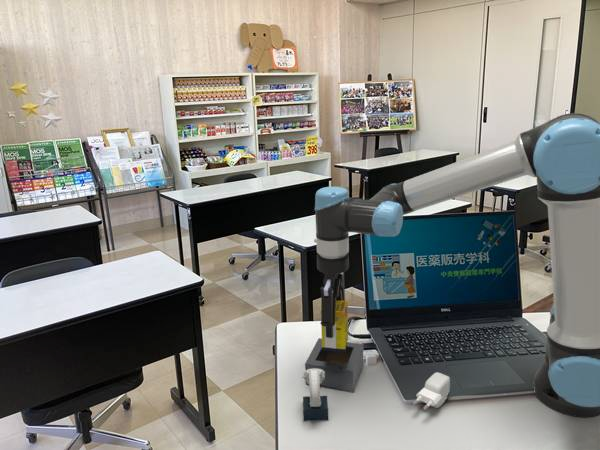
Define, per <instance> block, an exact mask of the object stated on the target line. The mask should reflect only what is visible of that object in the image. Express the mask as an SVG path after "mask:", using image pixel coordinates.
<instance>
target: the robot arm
mask: <svg viewBox="0 0 600 450" xmlns="http://www.w3.org/2000/svg"><path fill="white" fill-rule="evenodd" d="M525 176H530V177H532V178H536V187H537V199H538V200H540V201H541V202H542V203H544V204H545V205H546V206H547V216H548V231H549V232H548V234H549V245H550V248H549V249H550V261H551V278H552V294H553V304H552V305H551V309H550V311H549V315H550V316H549V317H550V318H549V324H548V326H547V328H546V334H547V335H546V336H547V338H546V339H547V340H546V347H545V355H544V359H543V361H542V362H541V364H540V365H539V367H538V369H537V370H536V371H535V373H534V377H533V381H532V385H533V384H534V387H535V393H534V395H535V396H536V398H537V399H538V400H539V401H540V402H542V404H544V405H546V406H547V407H549V408H550V409H553V410H554V411H557V412H558V413H562V414H565V415H569V416H573V417H579V418H592V417H597V416H600V122H598V121H597V120H596V119H595V118H593V117H592V116H590V115H587V114H585V113H577V112H571V113H566V114H561V115H558V116H556V117H554V118H552V119H549V120H548V121H546V122H544V123H543V124H541V125H538V126H535V127H534V128H533V127H532V128H531V129H529V130H526V131H523V132H520V133H518V135H517V137H516V138H515V140H513V141H510V142H508V143H505V144H502V145H500V146H497V147H494V148H491V149H488V150H486V151H483V152H480V153H478V154H475V155H472V156H470V157H467V158H465V159H461V160H458V161H456V162H453V163H451V164H448V165H445V166H443V167H440V168H436V169H434V170H431V171H427V172H425V173H423V174H420V175H418V176H414V177H412V178H409V179H407V180H405V181H401V182H399V183H390V184H388V185H386V186H384V187H382V188H381V190H379V191H378V192H377V193H375V194H374V195H373V197H371V198H370V199H358V198H351V197H350V196H349V195H350V194H349V191H348V189H347V188H345V187H341V186H326V187H322V188H320V189H318V190H317V191H316V193H315V194H314V195H315V197H314V198H315V199H314V200H315V201H314V202H315V203H314V211H315V213H314V214H315V237H316V238H314V240H313V242H314V243H316V253H317V254H316V269H317V270H318V271H319V272H321V273H323V274H324V276H323V279H322V284H323V286H321V287H320V295H321V296H320V297H321V309H320V319H321V321H320V325H322V326H324V330H325V347H328V348H334V349H336V347H337V344H336V323H335V310H336V300H339V301H346V294H345V272H347V271H348V269H349V267H350V259H349V258H350V256H349V252H350V243H349V241H350V239H349V238H350V237H349V233H356V234H362V235H371V236H378V237H381V238H382V237H383V238H384V237H397V236H398V235H399V234H400V232H401V231H402V230H401V229H402V228H403V221H404V216H405V215H409V214H411V213H414V212H416V211H419V210H423V209H425V208H429V207H432V206H435V205H437V204H440V203H443V202H448V201H451V200H453V199H457V198H460V197H463V196H465V195H468V194H471V193H475V192H478V191H481V190H484V189H488V188H490V187H494V186H497V185H499V184H500V185H501V184H503V183H506V182H509V181H512V180H515V179H519V178H522V177H525Z"/></svg>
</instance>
